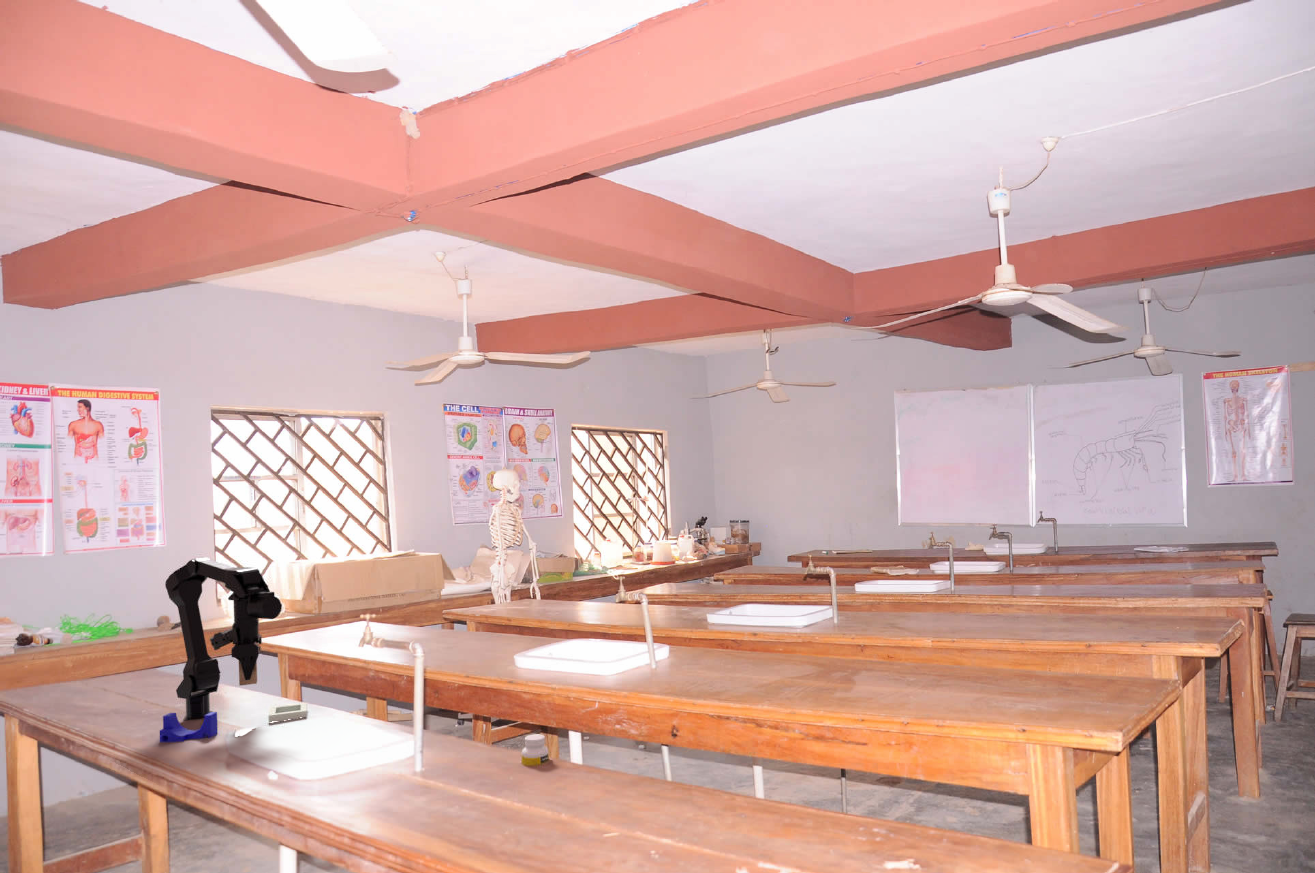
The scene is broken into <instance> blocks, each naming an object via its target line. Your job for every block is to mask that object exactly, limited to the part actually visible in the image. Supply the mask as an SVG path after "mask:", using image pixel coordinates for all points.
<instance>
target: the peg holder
mask: <svg viewBox="0 0 1315 873" xmlns="http://www.w3.org/2000/svg"><path fill="white" fill-rule="evenodd" d="M300 717H307V718H308V702H300V703H291V704H290V703H289V704H284V705H282V704H281V705H275V706H270V707H269V711H268V723H269V722H272V721H284V720H288V719H296V720H298V719H297V718H300ZM284 722H285V721H284Z"/></svg>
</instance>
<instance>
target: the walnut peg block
mask: <svg viewBox="0 0 1315 873" xmlns="http://www.w3.org/2000/svg"><path fill="white" fill-rule="evenodd" d="M257 662H258V660H257V661H256V664H255V667H254V670H253V672H252V675H251V678H250V680H245V677H244V673H243V670H242V666H241V663H240V661H239V660H238V680H239V683H238V684H239V686H248V685H257V683H258V664H257Z"/></svg>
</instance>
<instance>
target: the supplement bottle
mask: <svg viewBox="0 0 1315 873" xmlns="http://www.w3.org/2000/svg"><path fill="white" fill-rule="evenodd" d="M545 744H546V737H545V735H544V734H538V733H537V734H536V733H534V734H529V735H526V736H525V738H524V745H525V747H523V748H522V750H521V764H522V765H523V766H527V767H533V766H539V765H543V764H546V763H548V762H549V759H550V758H549V757H550V756H549V749H548V747H547V746H546V745H545Z"/></svg>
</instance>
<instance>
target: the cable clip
mask: <svg viewBox="0 0 1315 873" xmlns="http://www.w3.org/2000/svg"><path fill="white" fill-rule="evenodd" d="M216 735H218V712H217V711H213V712H210V713H208V714H206V715H204V718H203V723H202V725H201V726H200V727H199V729H196V730H191V729H188V728H186V727H184V726H183V725H182V724H181V723H180V721H179V720H178V718H177V712H169V713H167V714H164V715H163V716H162V728H161V729H160V730H159V743H178V742H185V741H186V740H197V739H205V738H207V737H208V739H211V738H214V736H216ZM184 740H185V741H184Z"/></svg>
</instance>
